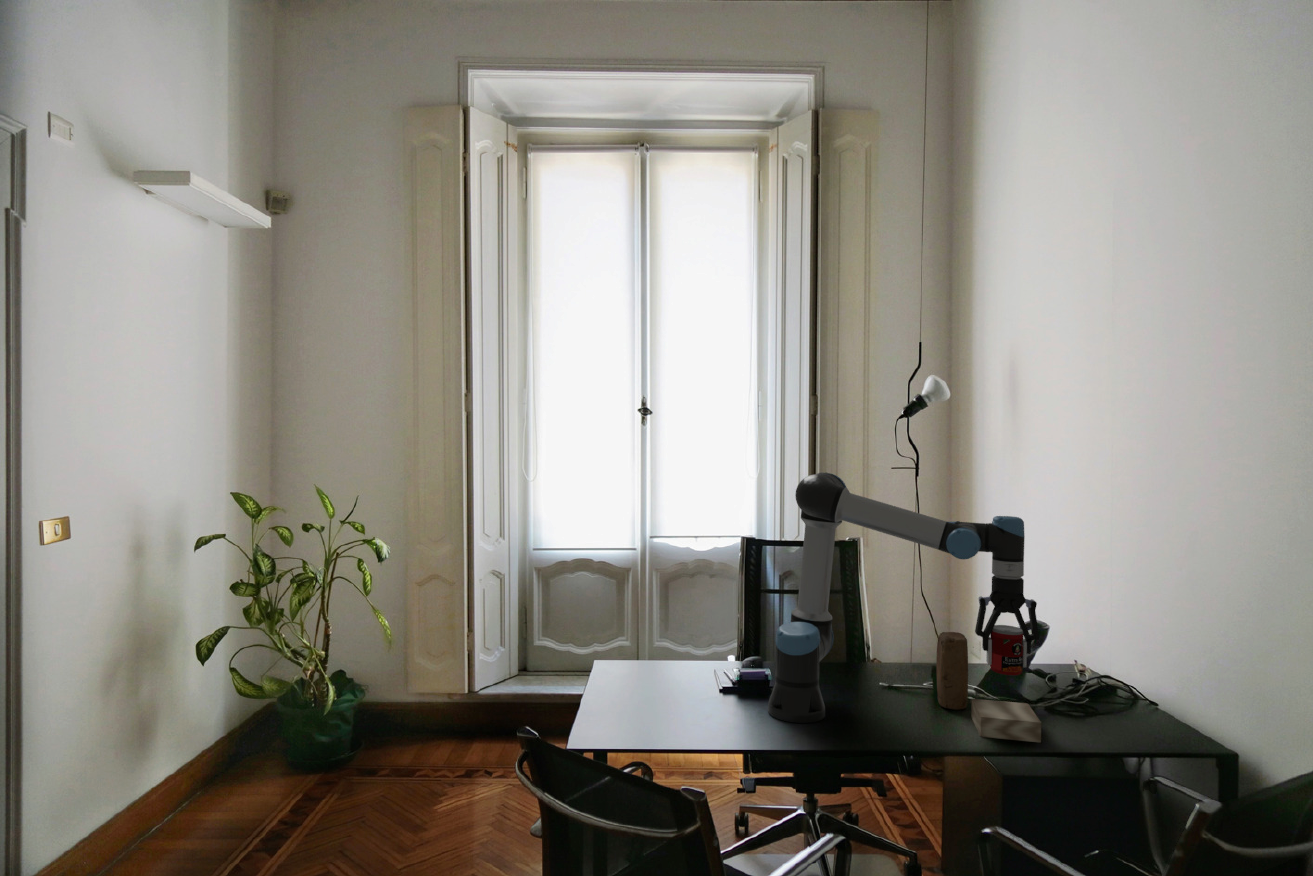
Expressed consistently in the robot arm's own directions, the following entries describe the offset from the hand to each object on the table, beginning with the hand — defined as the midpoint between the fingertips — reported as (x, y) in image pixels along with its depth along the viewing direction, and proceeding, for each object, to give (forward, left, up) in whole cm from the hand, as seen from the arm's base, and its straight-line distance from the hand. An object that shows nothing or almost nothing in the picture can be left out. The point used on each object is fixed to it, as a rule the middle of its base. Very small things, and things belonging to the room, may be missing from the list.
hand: (1006, 664), depth 201 cm
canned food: (0, 0, -2) cm, 2 cm away
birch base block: (0, 0, -17) cm, 17 cm away
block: (-11, +16, -17) cm, 26 cm away
